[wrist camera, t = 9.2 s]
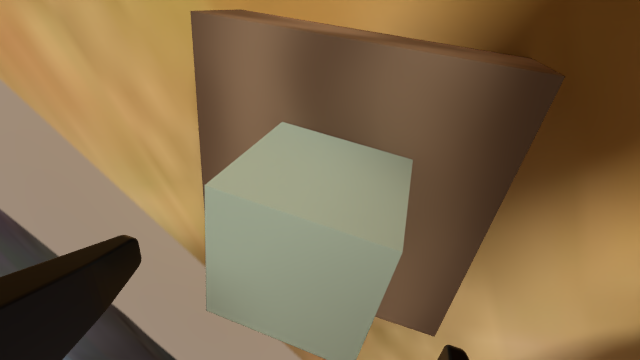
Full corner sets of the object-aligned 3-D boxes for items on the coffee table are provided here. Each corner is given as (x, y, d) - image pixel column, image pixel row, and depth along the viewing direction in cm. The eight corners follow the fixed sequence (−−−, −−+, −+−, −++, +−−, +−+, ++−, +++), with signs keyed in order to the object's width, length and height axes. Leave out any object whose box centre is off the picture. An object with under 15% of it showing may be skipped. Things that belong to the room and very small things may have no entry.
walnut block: (528, 56, 12) (565, 76, 9) (433, 276, 18) (434, 336, 15) (245, 9, 15) (190, 11, 11) (244, 218, 21) (208, 260, 17)
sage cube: (412, 159, 11) (402, 252, 7) (375, 259, 14) (351, 369, 10) (282, 121, 12) (204, 185, 8) (269, 222, 15) (206, 310, 11)
